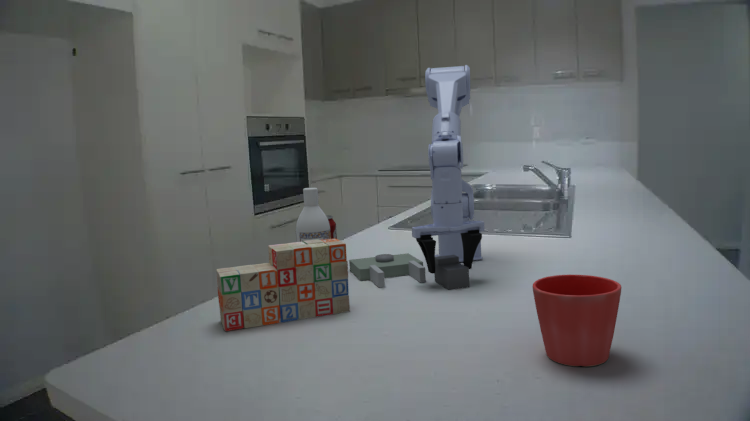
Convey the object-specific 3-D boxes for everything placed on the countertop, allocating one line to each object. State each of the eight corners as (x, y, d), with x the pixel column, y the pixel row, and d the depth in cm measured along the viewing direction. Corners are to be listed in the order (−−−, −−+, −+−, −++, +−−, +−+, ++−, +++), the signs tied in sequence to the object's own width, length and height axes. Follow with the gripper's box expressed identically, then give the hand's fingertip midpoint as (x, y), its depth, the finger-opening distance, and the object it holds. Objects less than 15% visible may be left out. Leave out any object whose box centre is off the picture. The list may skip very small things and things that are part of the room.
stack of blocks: (224, 333, 90) (217, 257, 89) (220, 321, 96) (213, 251, 95) (350, 311, 98) (346, 242, 96) (339, 302, 104) (335, 236, 102)
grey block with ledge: (454, 279, 115) (453, 254, 115) (469, 287, 109) (468, 261, 108) (434, 282, 114) (433, 256, 114) (448, 290, 108) (447, 264, 107)
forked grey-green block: (408, 263, 131) (408, 249, 130) (435, 280, 115) (434, 264, 114) (349, 270, 127) (349, 255, 127) (368, 289, 111) (367, 272, 111)
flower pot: (521, 344, 79) (520, 276, 78) (597, 337, 80) (597, 270, 79) (551, 376, 68) (550, 298, 67) (638, 368, 69) (639, 291, 68)
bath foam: (338, 285, 115) (332, 187, 112) (306, 291, 112) (299, 191, 109) (326, 278, 121) (320, 185, 118) (295, 283, 118) (288, 188, 115)
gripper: (419, 207, 104) (422, 279, 106) (490, 201, 108) (492, 270, 110) (407, 203, 111) (410, 270, 113) (474, 197, 115) (476, 263, 117)
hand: (449, 270), depth 112 cm, fingers open, 7 cm apart
